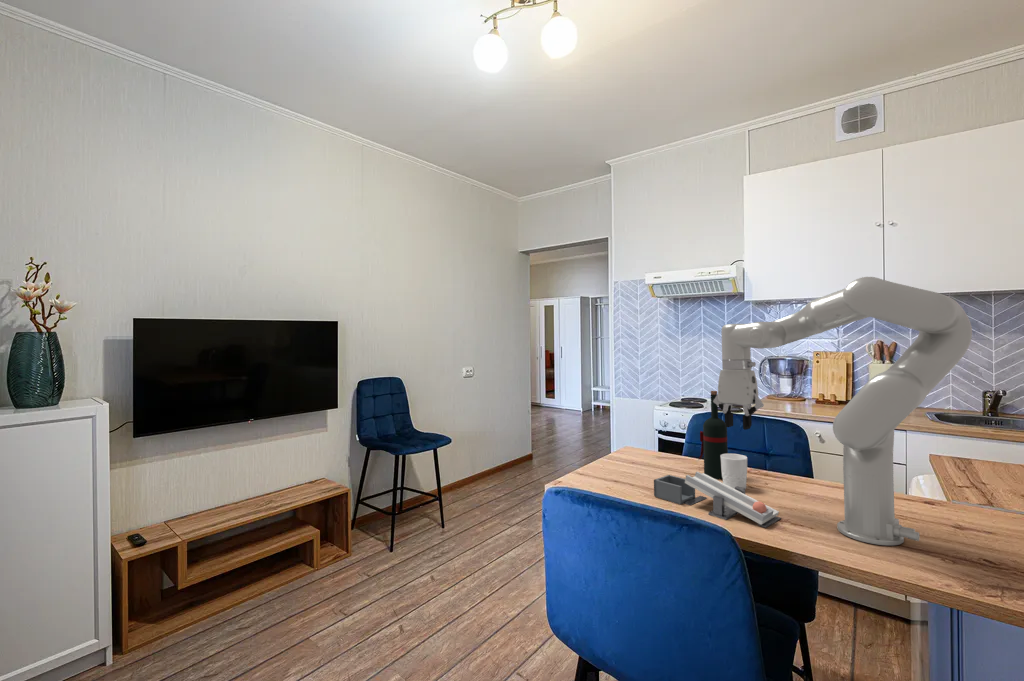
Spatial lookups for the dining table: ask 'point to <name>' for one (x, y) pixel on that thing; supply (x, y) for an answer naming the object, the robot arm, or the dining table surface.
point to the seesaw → (730, 497)
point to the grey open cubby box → (673, 489)
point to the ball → (759, 507)
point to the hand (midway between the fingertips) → (738, 427)
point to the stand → (726, 508)
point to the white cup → (734, 470)
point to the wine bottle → (713, 442)
